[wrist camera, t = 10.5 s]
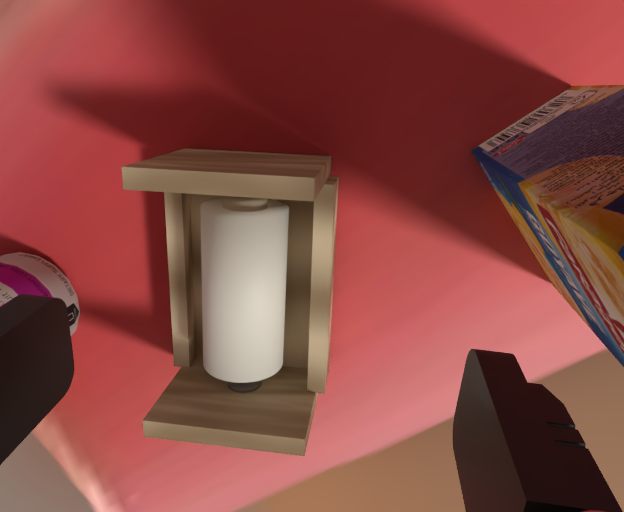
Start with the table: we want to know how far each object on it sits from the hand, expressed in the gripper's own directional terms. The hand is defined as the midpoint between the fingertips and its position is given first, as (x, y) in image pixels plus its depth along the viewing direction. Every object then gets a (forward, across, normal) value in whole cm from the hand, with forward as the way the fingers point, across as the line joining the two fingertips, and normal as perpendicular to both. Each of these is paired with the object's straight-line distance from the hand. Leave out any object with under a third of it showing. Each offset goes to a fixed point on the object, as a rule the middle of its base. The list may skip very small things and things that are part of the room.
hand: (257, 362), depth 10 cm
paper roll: (+24, +5, +9) cm, 26 cm away
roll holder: (+25, +5, +9) cm, 27 cm away
